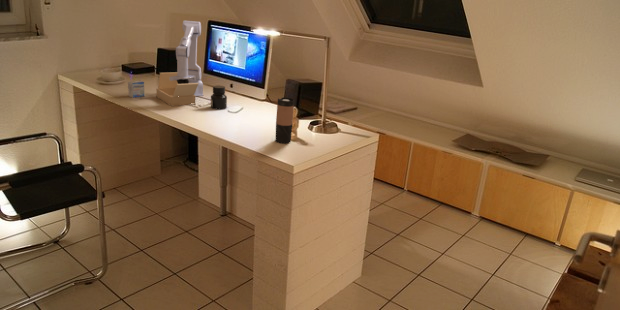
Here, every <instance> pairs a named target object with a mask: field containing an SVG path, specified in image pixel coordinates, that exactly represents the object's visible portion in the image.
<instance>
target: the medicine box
mask: <svg viewBox="0 0 620 310" xmlns="http://www.w3.org/2000/svg"><path fill="white" fill-rule="evenodd" d="M127 90H128V97H130V98H133V99H134V98H140V97H142V98H143V97H145V81H144V80H143V81H142V80H135V81H134V80H133V81H127Z"/></svg>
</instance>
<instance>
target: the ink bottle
mask: <svg viewBox="0 0 620 310" xmlns="http://www.w3.org/2000/svg"><path fill="white" fill-rule="evenodd" d="M227 102H228V97H227V95H226V86H225V85H220V84H218V85H213V86H212V94H211V95H210V108H211V109H216V110H225V109H227V104H228V103H227Z"/></svg>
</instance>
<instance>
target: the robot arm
mask: <svg viewBox="0 0 620 310" xmlns="http://www.w3.org/2000/svg"><path fill="white" fill-rule="evenodd" d="M181 27H182V31H183V33H184V34H183V36H182V37H181V38H180V41H179V44H178V46H176V47H175V57H176V60H177V61H176V63H177V69H176V72H177V76H172V77H169V80H170V81H173V80H177V82H178V84H189V83H199V84H198V86H197V89H196V91H195V93H194V95H195V97H201V96H204V83H203V81H202V68H201V66H199V64H198V63H197V62H198V60H197V59H198V55H197V54H198V38H199V37H200V36H201V34H202V23H201V21H194V20H193V21H192V20H183V21H182V26H181Z"/></svg>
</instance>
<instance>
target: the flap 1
mask: <svg viewBox="0 0 620 310" xmlns="http://www.w3.org/2000/svg"><path fill="white" fill-rule="evenodd" d="M172 76H177V71H175V72H171V71H170V72H168V71H167V72H159V80H158V87H157V89H159V88H176V86H177V84H178V82H177V80H173V81H170V80H169V77H172Z"/></svg>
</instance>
